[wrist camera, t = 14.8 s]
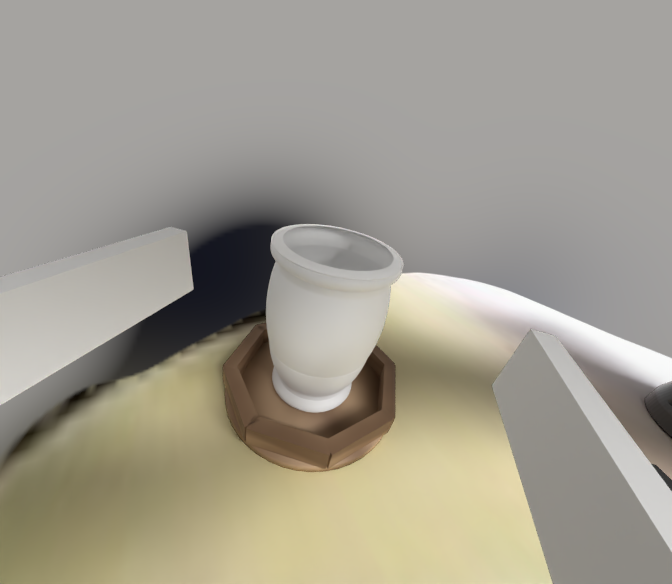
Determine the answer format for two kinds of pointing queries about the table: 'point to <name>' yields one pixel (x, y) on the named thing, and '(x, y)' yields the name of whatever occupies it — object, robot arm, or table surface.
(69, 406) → the table surface
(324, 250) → the jar
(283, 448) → the tray
